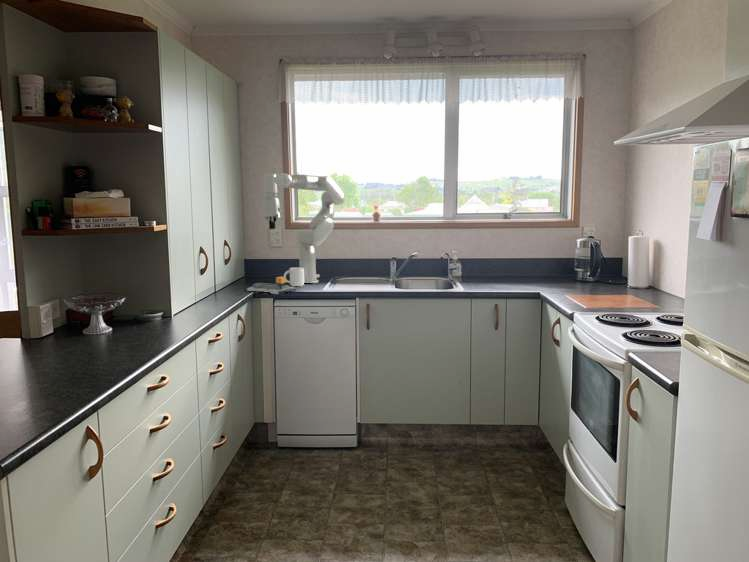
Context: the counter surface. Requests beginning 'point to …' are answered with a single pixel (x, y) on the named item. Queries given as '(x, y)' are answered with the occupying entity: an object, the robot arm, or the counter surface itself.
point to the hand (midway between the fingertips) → (272, 228)
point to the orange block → (280, 281)
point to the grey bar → (286, 291)
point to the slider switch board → (269, 288)
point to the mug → (295, 276)
